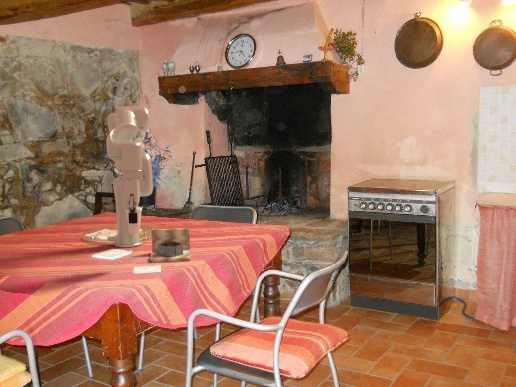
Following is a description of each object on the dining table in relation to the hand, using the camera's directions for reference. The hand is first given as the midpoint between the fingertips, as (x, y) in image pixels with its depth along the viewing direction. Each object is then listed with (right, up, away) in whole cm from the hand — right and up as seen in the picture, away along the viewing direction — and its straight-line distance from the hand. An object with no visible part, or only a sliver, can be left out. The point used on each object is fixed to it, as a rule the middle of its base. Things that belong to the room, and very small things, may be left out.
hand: (134, 221), depth 199 cm
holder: (+11, -16, +17) cm, 26 cm away
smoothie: (0, -5, +1) cm, 5 cm away
